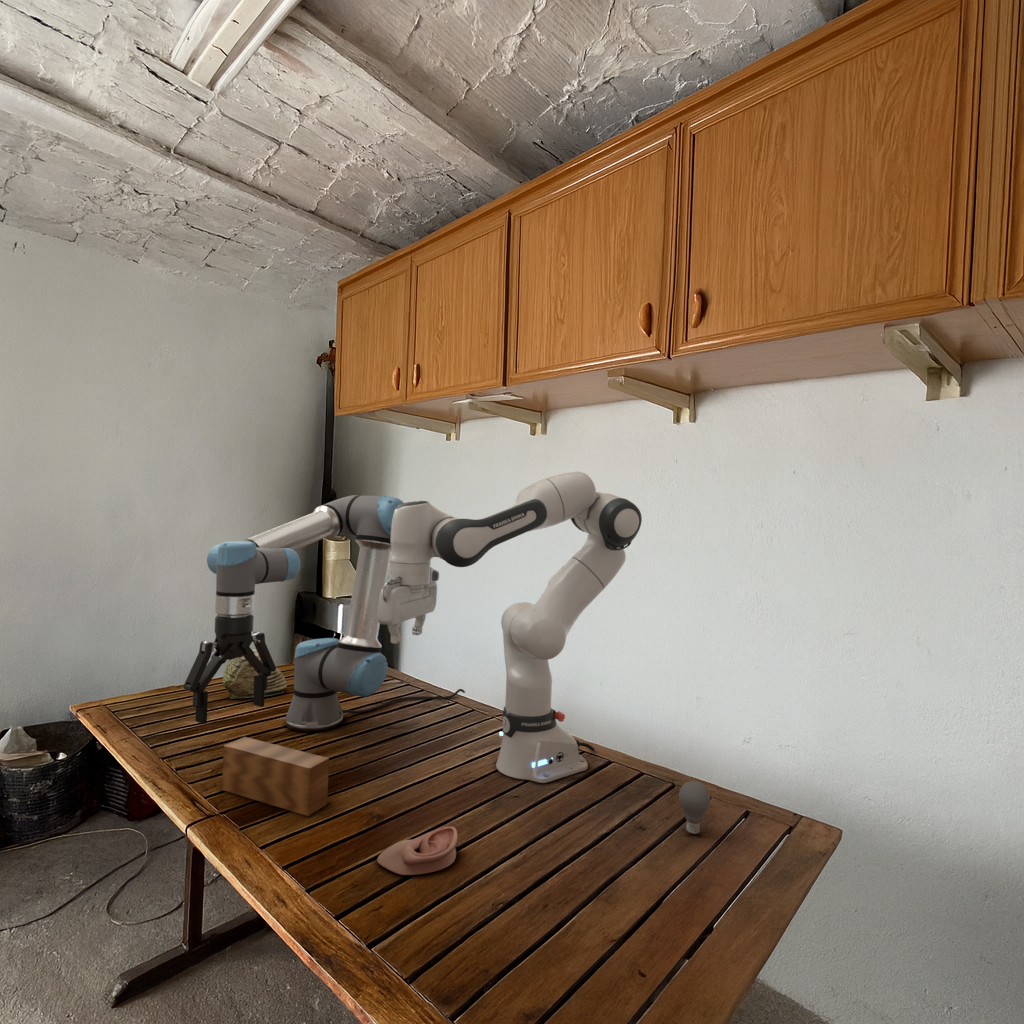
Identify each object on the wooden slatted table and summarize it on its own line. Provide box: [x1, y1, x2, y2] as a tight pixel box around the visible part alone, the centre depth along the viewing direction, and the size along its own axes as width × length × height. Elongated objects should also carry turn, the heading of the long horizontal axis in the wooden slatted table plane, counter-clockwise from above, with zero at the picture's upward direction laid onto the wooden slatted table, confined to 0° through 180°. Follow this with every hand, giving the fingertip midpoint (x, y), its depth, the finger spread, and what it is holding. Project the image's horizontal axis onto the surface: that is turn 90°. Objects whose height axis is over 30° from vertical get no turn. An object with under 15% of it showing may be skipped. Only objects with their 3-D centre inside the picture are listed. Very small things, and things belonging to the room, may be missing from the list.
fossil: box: [222, 648, 288, 699], centre depth 198 cm, size 9×18×15 cm, turn 132°
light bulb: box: [678, 780, 711, 835], centre depth 125 cm, size 6×6×10 cm
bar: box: [221, 736, 330, 817], centre depth 133 cm, size 23×6×10 cm, turn 66°
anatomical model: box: [376, 826, 459, 876], centre depth 112 cm, size 13×4×12 cm
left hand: (231, 713), depth 135 cm, fingers open, 13 cm apart
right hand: (406, 638), depth 138 cm, fingers open, 8 cm apart
